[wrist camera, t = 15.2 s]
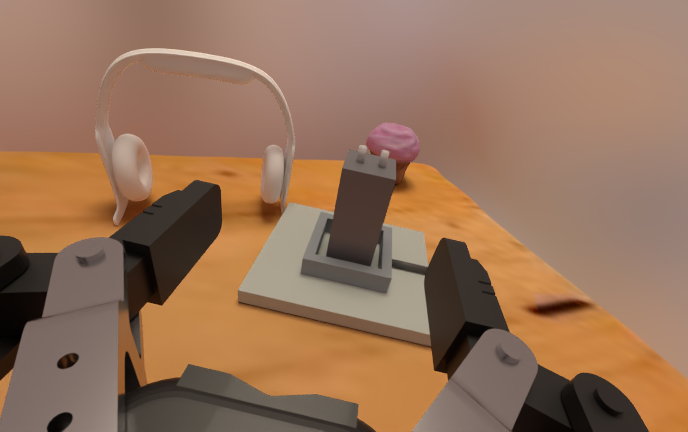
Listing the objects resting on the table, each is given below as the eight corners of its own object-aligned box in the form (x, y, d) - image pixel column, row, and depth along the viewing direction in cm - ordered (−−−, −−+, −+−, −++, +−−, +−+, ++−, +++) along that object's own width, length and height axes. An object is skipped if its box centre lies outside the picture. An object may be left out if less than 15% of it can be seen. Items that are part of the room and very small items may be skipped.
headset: (286, 196, 45) (298, 62, 35) (292, 224, 39) (308, 75, 30) (126, 193, 39) (87, 30, 29) (106, 226, 33) (50, 39, 24)
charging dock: (238, 301, 28) (237, 273, 26) (288, 211, 41) (290, 189, 40) (432, 347, 28) (446, 322, 26) (420, 241, 41) (428, 219, 39)
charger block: (324, 264, 32) (345, 152, 25) (331, 238, 36) (351, 135, 29) (367, 274, 32) (400, 164, 25) (370, 247, 36) (399, 146, 29)
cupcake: (369, 190, 51) (383, 131, 45) (353, 167, 57) (364, 113, 52) (416, 191, 53) (435, 136, 48) (396, 169, 60) (410, 118, 55)
